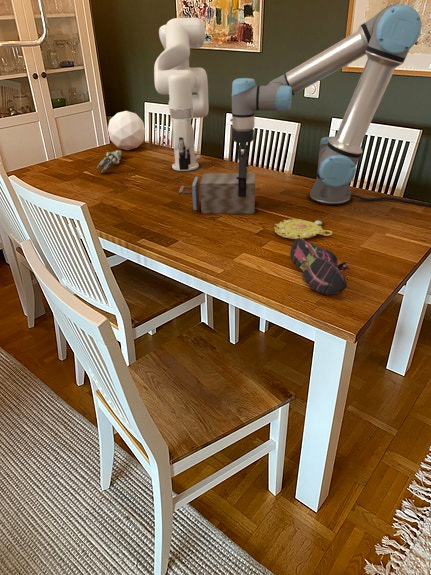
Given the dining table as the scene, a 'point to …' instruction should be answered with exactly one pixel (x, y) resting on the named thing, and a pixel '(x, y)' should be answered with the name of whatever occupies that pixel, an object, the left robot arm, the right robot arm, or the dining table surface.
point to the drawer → (194, 192)
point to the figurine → (110, 160)
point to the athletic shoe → (318, 267)
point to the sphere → (126, 130)
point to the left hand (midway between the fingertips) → (185, 166)
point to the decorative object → (300, 229)
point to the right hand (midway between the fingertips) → (242, 190)
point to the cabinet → (226, 194)
